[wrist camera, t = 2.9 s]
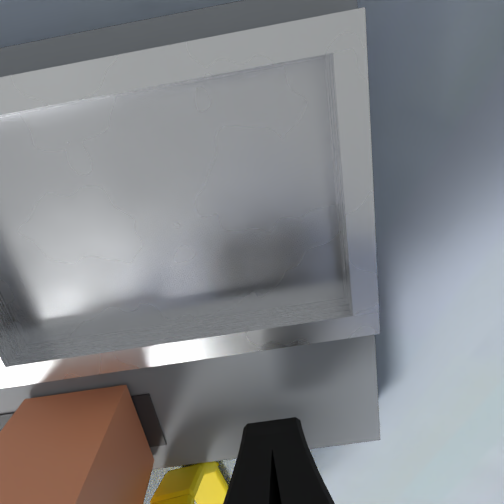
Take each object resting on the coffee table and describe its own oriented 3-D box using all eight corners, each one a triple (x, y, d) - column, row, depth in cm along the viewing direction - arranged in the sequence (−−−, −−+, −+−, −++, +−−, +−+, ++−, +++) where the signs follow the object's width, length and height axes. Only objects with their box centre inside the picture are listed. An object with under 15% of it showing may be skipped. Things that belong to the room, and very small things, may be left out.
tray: (350, 18, 7) (365, 7, 6) (367, 311, 10) (380, 333, 9) (-113, 107, 8) (-162, 108, 7) (15, 363, 10) (-8, 389, 9)
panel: (341, -5, 8) (356, -23, 7) (368, 410, 13) (380, 441, 11) (-244, 108, 9) (-318, 109, 8) (-24, 462, 13) (-49, 496, 12)
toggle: (126, 384, 11) (69, 517, 7) (154, 460, 12) (116, 605, 8) (24, 399, 11) (-78, 534, 7) (61, 472, 12) (-12, 618, 8)
